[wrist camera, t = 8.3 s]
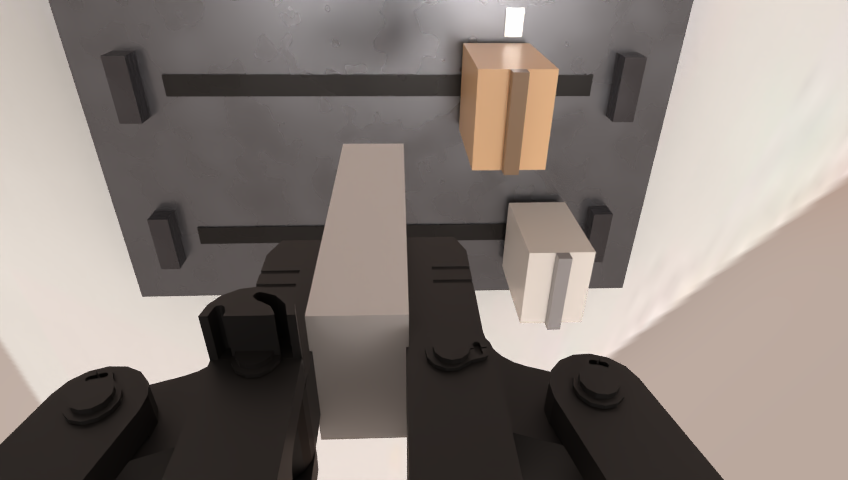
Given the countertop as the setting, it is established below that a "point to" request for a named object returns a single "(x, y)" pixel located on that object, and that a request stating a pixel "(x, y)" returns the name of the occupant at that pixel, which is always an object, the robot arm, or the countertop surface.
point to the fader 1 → (506, 106)
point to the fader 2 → (546, 263)
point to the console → (355, 121)
